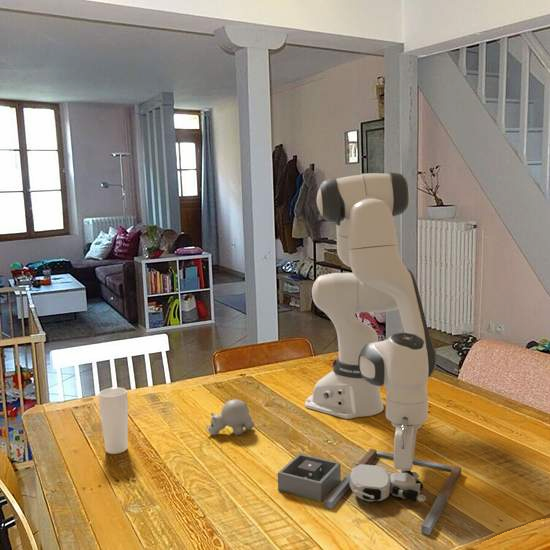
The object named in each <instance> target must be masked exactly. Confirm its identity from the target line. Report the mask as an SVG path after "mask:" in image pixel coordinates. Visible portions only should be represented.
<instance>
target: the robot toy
mask: <svg viewBox="0 0 550 550" xmlns="http://www.w3.org/2000/svg"><path fill="white" fill-rule="evenodd" d="M350 463H351V464H352V465H354V467H353V468H352V469H351V470H352V471H351V470H350V471H351V474H350V483H349V484H350V489H351V492H353V494H354V495H355V496H356V497H357V498H359V499H361V500H364V501H366V502H369V503H370V502H371V503H372V502H374V501H375V502H381V501H383V500H386V499H387V498H388V497H389V496H390V494H391V495H392V496H394V497H400V498H401V499H405V500H408V501H411V502H413V503H416V502H417V501H418V502H421V503H424V502H425V501H426V498H427V497H426V496H425V495H423V494H421V491H422V490H423V489H424V485H423V483H422V482H421V481H420V478H419V477H420V475H419V473H418V472H417V471H412V470H410V471H403V472H401V471H400V472H392V473H390V474H389V473H388V472H387V471H386V470H385V469H384V468H383V467H380V466H379V465H373V464H372V465H371V464H369V465H364V464H357V463H358V462H357V463H356V462H355V461H352V462H350ZM356 465H358V466H356ZM355 466H356V467H355Z"/></svg>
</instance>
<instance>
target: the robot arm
mask: <svg viewBox="0 0 550 550" xmlns="http://www.w3.org/2000/svg"><path fill="white" fill-rule="evenodd" d="M410 193H411V190H410V187H409V185H408V181H407V179H406V177H405V176H404V175H403V174H402V173H398V172H389V171H388V172H387V173H384V172H383V173H379V172H378V173H377V172H375V173H374V172H372V173H371V172H370V173H360V174H356V175H349V176H344V177H343V176H342V177H339V178H335V177H332V178H329V179H326V180H324V181H322V182H321V183H320V185H319V186H318V190H317V193H316V194H317V195H316V205H317V206H316V207H317V209H318V211H319V213H320V216H321V218H322V219H324V220H325V221H326V222H329V223H333V224H336V254H337V256H338V258H339V260H340V261H341V262H342V264H344V265H345V266H347V267H348V268H350V269H351V271H352V272H331V273H326V274H322V275H318V277H317V278H316V279H315V280H314V282H313V285H312V287H311V298H312V300H313V303H314V305H315V306H316V307H317V308H318V309H319V310H320V311H322V312H323V313H325V315H326V316H327V317H328V318H329V319H330V321H331V323H332V324H333V326H334V329H335V331H336V334H337V335H336V336H337V344H338V346H337V347H338V355H337V356H336V358H335V359H333V360H332V362H331V363H330V368H332V370H331V371H330V372H329V373H327V374H326V375H324V376H323V377H322V378H320V379H319V380H317V382H316V383H315V385H314V386H313V391H312V392H313V393H312V394H311V395H310V396H308V397H307V399H305V402H304V406H305V408H307V409H310V410H314V411H317V412H320V413H325V414H327V415H332V416H335V417H339V418H342V419H345V420H346V419H347V420H349V419H353V418H354V419H355V418H360V417H363V418H364V417H371V416H375V415H378V414H380V413H382V412H383V410H384V409H385V417H386V419H387V420H388V421H390V422H391V425H392V427H394V428H395V432H394V441H393V443H394V444H393V454H394V459H393V468H395V469H396V470H400V473H401V472H403V471H412V470H413V469H412V468H413V465H414V464H413V458H414V457H415V456H414V455H415V448H416V442H417V435H418V429H420V428H421V427H422V424H423V423H425V422H427V421H428V418H429V417H428V414H429V413H428V412H429V394H428V390H427V384H428V381H429V378H430V377H431V375H433V373H434V371H435V369H436V367H437V363H438V354H437V350H436V347H435V345H434V343H433V340H432V339H431V335H430V332H429V328H428V325H427V321H426V315H425V311H424V308H423V303H422V299H421V296H420V291H419V288H418V285H417V282H416V281H417V280H416V278H415V276H414V274H413V272H412V271H411V270H410V269H408V268H407V267H406V266H405V264H404V262H403V260H402V258H401V254H400V251H399V243H398V242H399V241H398V235H397V230H396V224H395V220H394V217H397V216H399V215H401V214H403V213H404V212H405V211H406V210H407V208H408V207H409V202H410V196H411V195H410ZM397 310H398V312H399V316H400V320H401V325H402V328H403V332H398V333H396V332H395V333H393V334H391V335H390V336H389V337H388V338H387V339H384V340H379V335H378V332H377V331H376V330H375V328H374V327H372V326H371V325H369V324H367V323H365V322H363V321H361V320H359V319H358V317H357V315H356V314H357V313H387V312H392V311H393V312H394V311H397ZM380 387H383V388H385V389H386V393H385V407H384V404H383V403H384V402H383V400H382V395H381V389H380Z"/></svg>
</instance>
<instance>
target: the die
mask: <svg viewBox="0 0 550 550" xmlns="http://www.w3.org/2000/svg"><path fill="white" fill-rule="evenodd" d="M297 476H299V477H303V478H307V479H311V480H315V481H320V480H321V479H322V478H323V464H322V463H318V462H314V461H310V460H305V461H304V462H303V463H302V464H300V465H299V466H298V467H297Z"/></svg>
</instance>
